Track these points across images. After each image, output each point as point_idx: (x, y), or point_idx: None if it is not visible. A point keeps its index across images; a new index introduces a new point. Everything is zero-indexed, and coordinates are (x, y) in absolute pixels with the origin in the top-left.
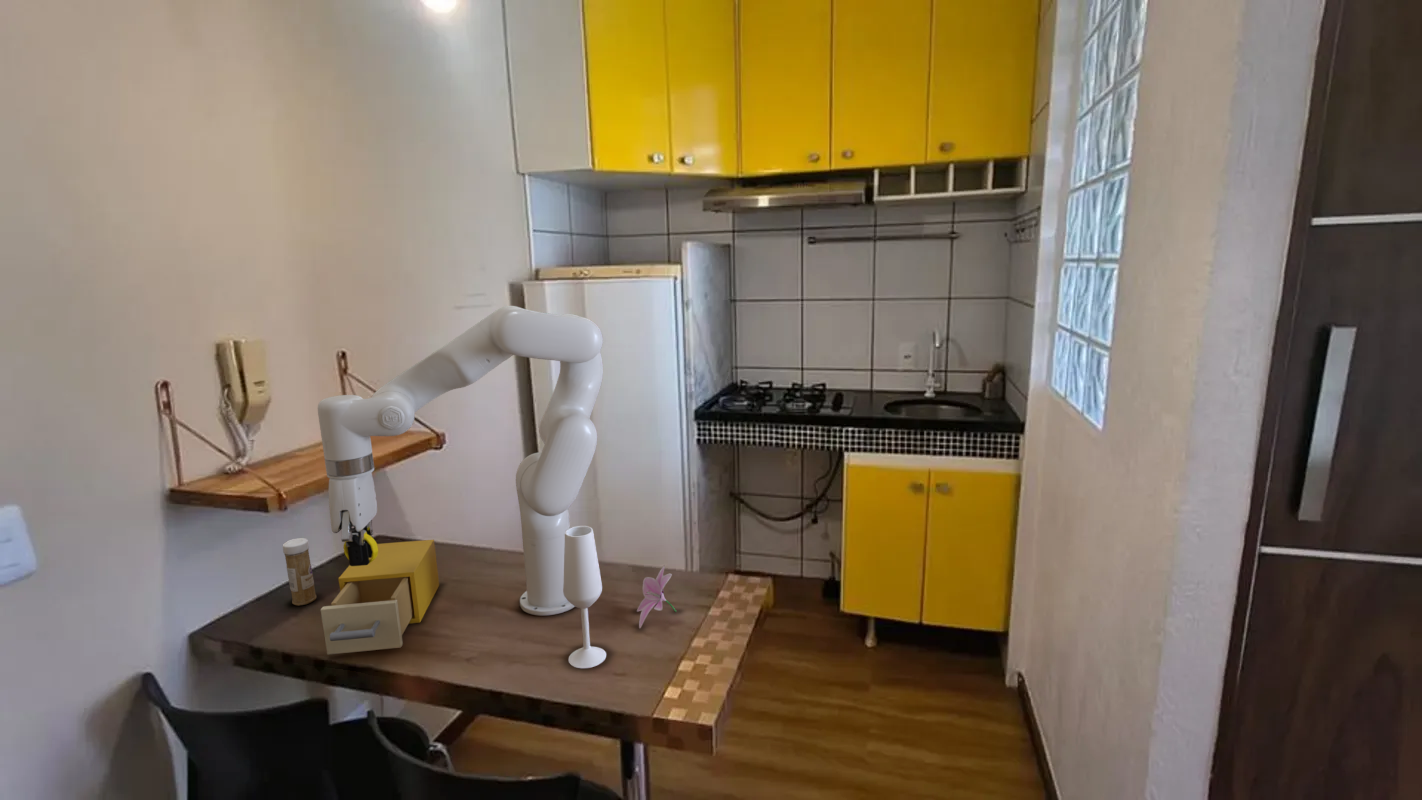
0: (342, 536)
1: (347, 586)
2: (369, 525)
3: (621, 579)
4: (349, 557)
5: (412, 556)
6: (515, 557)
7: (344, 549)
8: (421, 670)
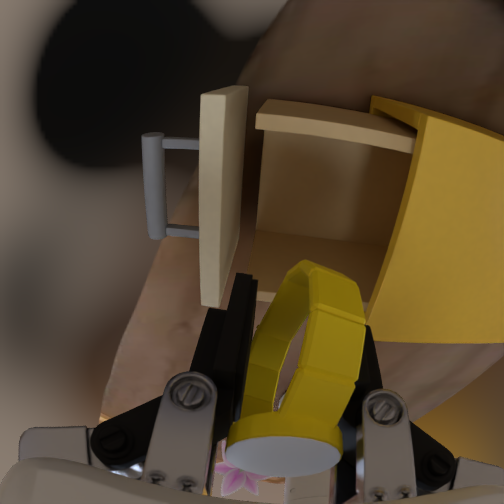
0: (20, 458)
1: (388, 143)
2: (330, 500)
3: None
4: (229, 306)
5: (468, 320)
6: (487, 359)
7: (312, 292)
8: (162, 268)
